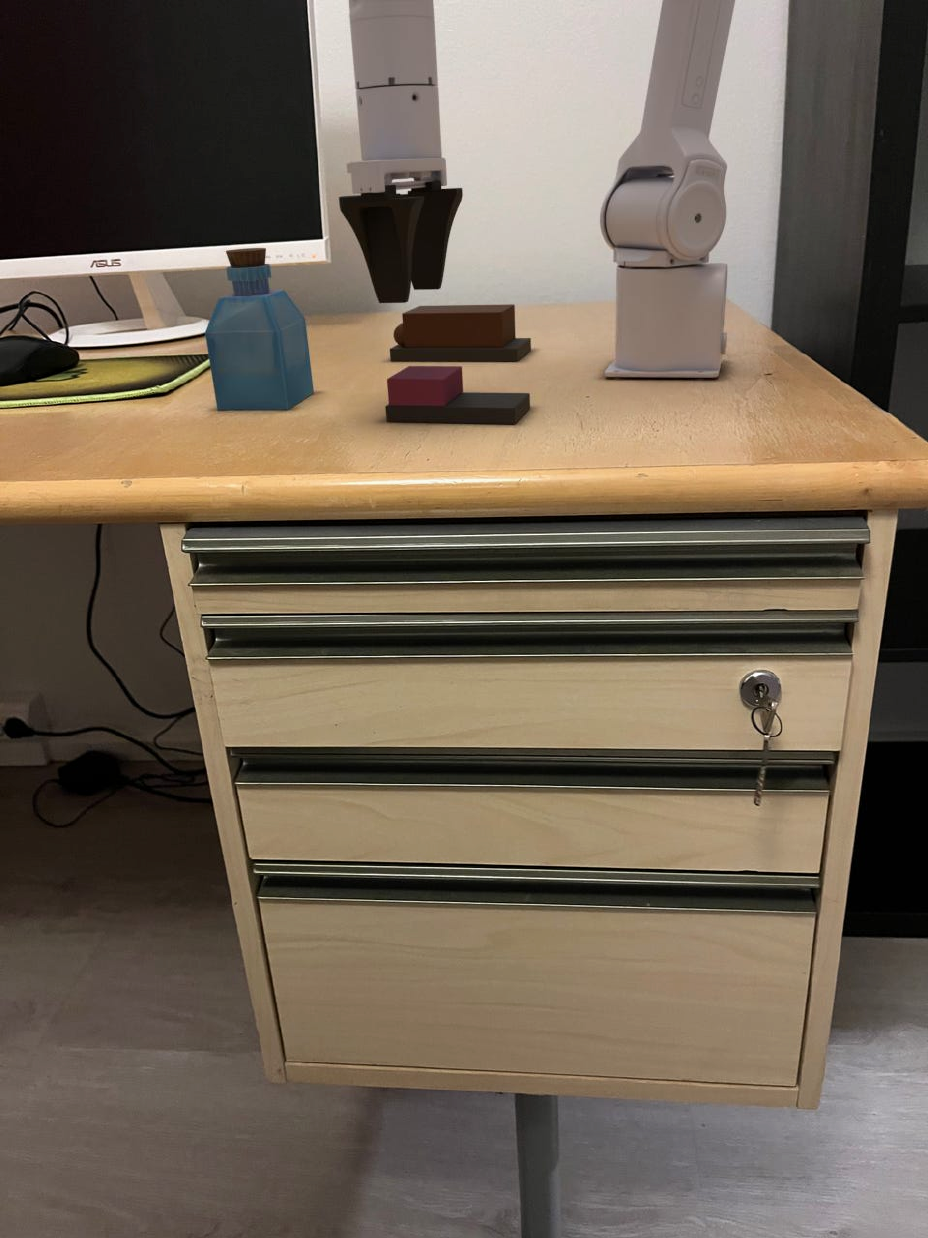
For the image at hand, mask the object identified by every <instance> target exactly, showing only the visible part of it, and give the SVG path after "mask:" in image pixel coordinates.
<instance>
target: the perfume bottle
mask: <svg viewBox="0 0 928 1238" xmlns="http://www.w3.org/2000/svg"><path fill="white" fill-rule="evenodd" d="M225 253H226V256H227V259H228V262H229V264H230V266H227V267H226V268H225V269H226V276H227V280H228V282H231V285H232V293H228V294H226V295H222V296H219V297H218V298H217V301H216V303H215V306H214V309H213V310H212V312H211V315H210V318H209V321H208V323H207V325H206V328H205V330H204V336H205V342H206V348H207V355H208V361H209V368H210V374H211V379H212V386H213V393H214V397H215V399H214V400H215V404H216V410H217V411H288V410H290V409H291V408H293V407H295V406H296V405H298V404H299V403H301V402H302V401H304V400H306V399H307V398H309V397H311V396H312V395H314V393H315V390H314V381H313V373H312V364H311V355H310V348H309V346H310V345H309V338H308V331H307V322H306V318H305V316H304V315H303V313H302V312H301V311H300V309H299V308H298V307H297V305H296V304H295V303H294V301H293V300H292V298H291V296H289V294H288V293H287V292H286V290H285V289H271V290H270V282H269V279H270V278H272V270H271V269H272V268H271V264H270V263H266V255H267V248H266V247H250V248H249V247H246V248H236V249H235V248H234V249H227V250H225Z"/></svg>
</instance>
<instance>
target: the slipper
mask: <svg viewBox="0 0 928 1238" xmlns="http://www.w3.org/2000/svg"><path fill="white" fill-rule="evenodd" d="M463 378H464V377H463V366H462V365H460V366H459V365H408V366H406V367H405V368H403V369H402V370H399V371H398V372H396V373H395V374H393V375H391V376H390V377H388V378H387V379H386V386H387V388H386V389H387V397H388V398H387V399H388V400H387V401H388V404H386V405H385V409H384V410H385V419H386V422H389V423H390V422H393V423H433V424H434V423H435V424H436V423H439V424H441V423H442V424H484V425H485V424H486V425H487V424H489V425H516V424H517V423H518V422H519V421H520V420H521V419H522V417H524V415H525V414H526V413H527V412H528V411H529V410H530V409H531V393H530V392H480V391H479V392H476V391H475V392H474V391H473V392H471V391H470V392H467V391H464V380H463Z"/></svg>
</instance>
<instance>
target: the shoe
mask: <svg viewBox="0 0 928 1238" xmlns="http://www.w3.org/2000/svg"><path fill="white" fill-rule="evenodd" d="M401 316H402V318H401V319H402V323H400V324H398V325H397V326H396V327H395V328H394V330H393V340H394V342H395V343H396V345H395V346H392V347H391V348H389V359H390V362H518V361H520V360H521V359H522V358H523V357H525V356H526V355H527V354H528V353H530V351H532V338H531V337H516V304H514V303H513V304H511V303H510V304H453V305H451V304H450V305H449V304H447V305H445V304H443V305H419V306H416V307H414V308H411V309H410V310H407V311H405V312H403V313H402V314H401Z"/></svg>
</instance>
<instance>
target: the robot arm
mask: <svg viewBox="0 0 928 1238" xmlns="http://www.w3.org/2000/svg"><path fill="white" fill-rule="evenodd" d="M735 4H736V0H662V2H661V8H660V13H659V18H658V19H659V20H658V25H657V32H656V37H655V43H654V48H653V55H652V61H651V67H650V73H649V79H648V84H647V89H646V94H645V95H646V96H645V102H644V108H643V114H642V119H641V127H640V131H639V133H638V134H637V136H636V137H635V138H634V140H633V141H632V142H631V143H630V144H629V146H627V148H626V150H625V151H624V152H623V153H622V155H620V157H619V159H618V161H617V167H616V173H615V176H614V179H613V182H612V184H611V185H610V188H609V189H608V191H607V193H606V194H605V196H604V199H603V201H602V203H601V207H600V214H599V226H600V231H601V235H602V238H603V240H604V242H605V243H606V245H607V246H608V247H609V249H611V250H612V251H613V257H612V259H613V261H612V262H613V263H616V264H617V265H616V273H615V274H616V275H615V276H616V277H615V278H616V279H615V282H616V283H615V284H616V285H615V295H616V296H615V333H614V334H615V335H614V340H615V341H614V344H615V345H614V359H613V360H612V362H611V363H610V364H609V365H608V367H607V368H606V369H605V370H604V377H606V378H685V379H686V378H687V379H689V378H691V379H692V378H695V379H697V378H699V379H704V378H706V379H707V378H708V379H714V378H718V377H719V375H720V371H721V367H722V363H723V355H726V353H727V339H728V333H727V332H725V317H726V304H727V287H728V264H727V263H723V262H714V263H713V262H710V253H711V252H712V251H713V250H714V249H715V247H716V246H717V245H718V244H719V241H720V240H721V237H722V235H723V233H724V230H725V226H726V222H727V204H726V196H725V182H726V175H727V169H728V164H727V162H726V160H725V159H724V158H723V156H722V155H721V154H720V153H719V151H718V150H717V149H716V147H714V145H713V143H712V142H711V141H710V134H711V128H712V124H713V118H714V112H715V107H716V102H717V98H718V92H719V87H720V82H721V76H722V72H723V71H722V70H723V65H724V60H725V55H726V50H727V45H728V41H729V35H730V30H731V25H732V20H733V14H734V9H735ZM434 5H435V4H434V0H348V12H349V13H348V19H349V28H350V31H349V32H350V42H351V51H352V52H351V53H352V65H353V77H354V88H355V98H356V110H357V120H358V121H357V122H358V133H359V143H360V144H359V145H360V146H359V147H360V157H361V158H360V159H361V160H355V161H353V160H352V161H350V162H347V163H346V172H347V174H350V176H351V177H350V179H351V180H350V181H351V190H352V191H351V192H352V194H357V195H343V196H338V205H339V209H340V212H341V213H342V215H343V216H344V218H345V220H346V221H347V223H348V225H349V226H350V228H351V230H352V232H353V234H354V236H355V238H356V240H357V243H358V245H359V247H360V249H361V252H362V255H363V258H364V260H365V263H366V266H367V269H368V273H369V277H370V280H371V284H372V286H373V290H374V293H375V295H376V299H377V302H378V303H379V304H406V303H408V302H409V299H410V295H411V288H412V289H413V290H414V291H425V290H427V291H428V290H429V291H430V290H431V291H432V290H441V288H442V285H443V280H444V273H445V268H446V267H445V266H446V259H447V252H448V246H449V240H450V236H451V231H452V227H453V223H454V222H455V221H454V220H455V218H456V215H457V212H458V210H459V207H460V205H461V203H462V202H463V201H462V200H463V195H464V193H463V188H462V187H448V188H446V186H448V179H447V178H448V177H447V160H446V158H445V157H443V155H442V154H443V153H442V152H443V151H442V137H441V135H442V134H441V117H440V115H441V114H440V113H441V112H440V94H439V77H438V76H439V75H438V60H437V58H438V57H437V41H436V22H435V21H436V20H435V6H434ZM408 179H413V180H408ZM394 180H405V181H394ZM442 187H445V188H442ZM400 190H407V193H399V192H398V193H397V191H400Z"/></svg>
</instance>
